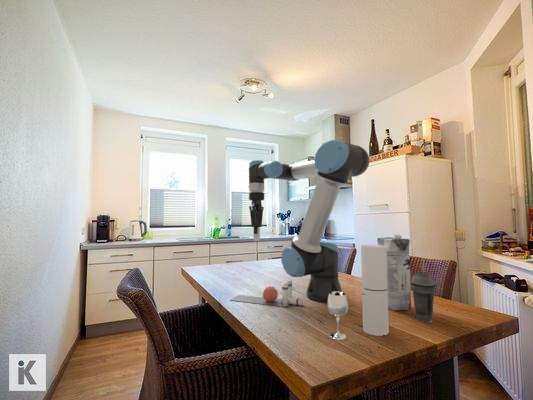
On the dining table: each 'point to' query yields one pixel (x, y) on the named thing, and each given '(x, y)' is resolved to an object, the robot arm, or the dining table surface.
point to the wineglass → (337, 310)
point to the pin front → (294, 301)
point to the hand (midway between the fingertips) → (256, 240)
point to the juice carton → (397, 272)
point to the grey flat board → (256, 300)
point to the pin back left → (285, 294)
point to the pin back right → (289, 288)
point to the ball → (270, 294)
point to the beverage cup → (423, 295)
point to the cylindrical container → (374, 289)
